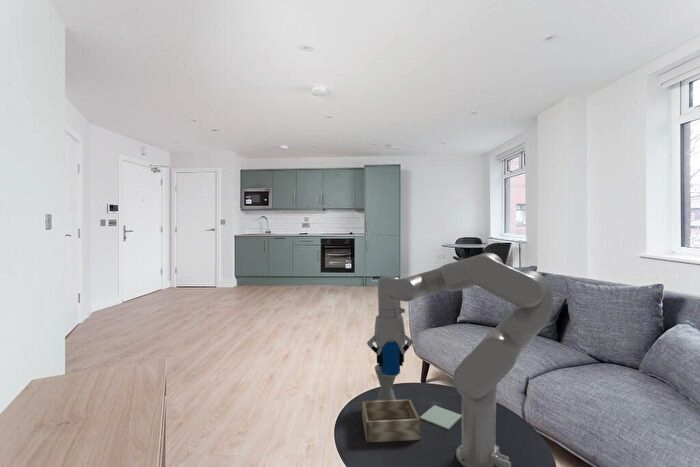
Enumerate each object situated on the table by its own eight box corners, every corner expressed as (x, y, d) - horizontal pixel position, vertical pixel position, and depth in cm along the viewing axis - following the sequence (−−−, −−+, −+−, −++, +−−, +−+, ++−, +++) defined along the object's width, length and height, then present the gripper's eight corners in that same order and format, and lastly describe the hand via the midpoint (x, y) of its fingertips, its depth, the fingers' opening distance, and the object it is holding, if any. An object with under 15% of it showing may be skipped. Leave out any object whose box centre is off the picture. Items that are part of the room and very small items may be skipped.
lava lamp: (381, 414, 128) (381, 320, 128) (370, 403, 137) (370, 314, 136) (402, 409, 132) (402, 317, 131) (390, 398, 140) (390, 312, 140)
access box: (410, 417, 127) (410, 399, 126) (420, 439, 113) (420, 419, 113) (362, 419, 125) (362, 401, 125) (366, 442, 112) (366, 422, 112)
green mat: (461, 416, 127) (461, 415, 127) (448, 429, 118) (448, 428, 118) (434, 406, 134) (434, 405, 134) (419, 418, 126) (419, 417, 126)
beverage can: (399, 370, 122) (399, 336, 122) (400, 378, 115) (399, 342, 115) (381, 369, 122) (380, 335, 122) (381, 377, 116) (380, 341, 116)
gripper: (411, 309, 123) (412, 359, 123) (363, 310, 122) (363, 361, 122) (417, 314, 115) (418, 368, 116) (365, 316, 114) (366, 370, 114)
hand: (390, 364), depth 119 cm, fingers closed on beverage can, 6 cm apart
